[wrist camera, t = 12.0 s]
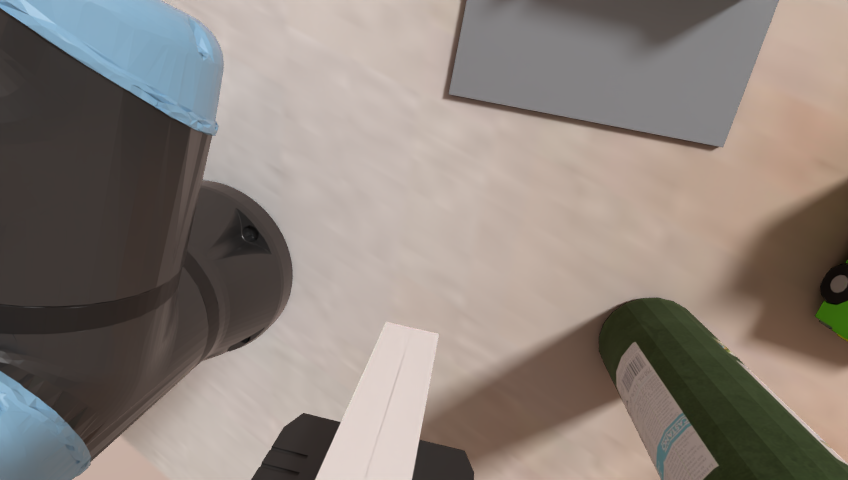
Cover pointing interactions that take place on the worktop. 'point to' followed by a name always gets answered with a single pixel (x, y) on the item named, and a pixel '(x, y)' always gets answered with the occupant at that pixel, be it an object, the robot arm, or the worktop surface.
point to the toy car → (835, 301)
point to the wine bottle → (705, 402)
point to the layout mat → (615, 60)
